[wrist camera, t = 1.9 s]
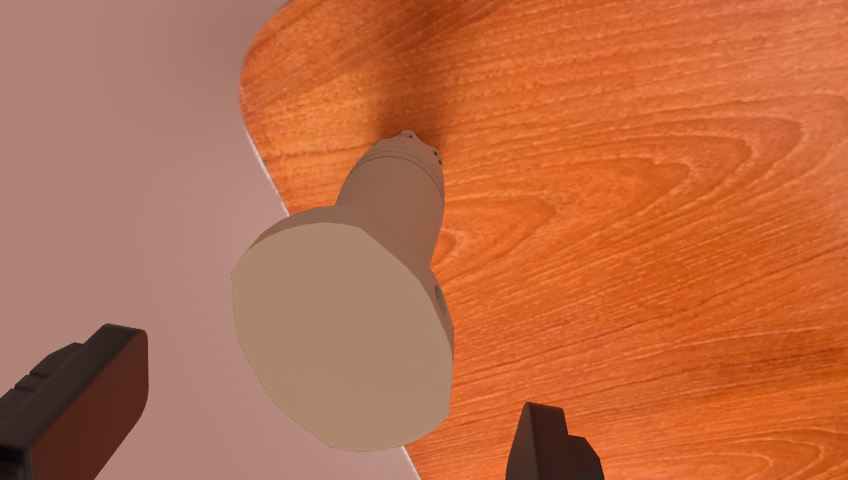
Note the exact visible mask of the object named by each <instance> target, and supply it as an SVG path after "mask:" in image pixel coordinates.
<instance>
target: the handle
mask: <svg viewBox="0 0 848 480" xmlns="http://www.w3.org/2000/svg"><path fill="white" fill-rule="evenodd" d="M441 166H442V162H441V157H440V154H439V152H438V150H437V149H436V147H434V146H429V145H427V144H425V143H424V142H422V141H421V140H420V139H419V138H418V137H417V136H416V134H415V132H414V131H412V130H403V131H402V132H401V133H400V134H399V135H397V136H395V137H392V138H387V139H385V138H382V139H380V140H379V141H377V142H376V143H375V144H374V145H373V147H372V148H371V149H369V150H368V151H367V152H366V153H365V154H364V155H363V156H362V157H361V158H360V159H359V161H358V162H357V163H356V164H355V166H354V167H353V169H352V170H351V172H350V173H349V175H348V177H347V178H346V180H345V182H344V184H343V186H342V188H341V191H340V193H339V196H338V199H337V201H336V204H335V206H326V207H317V208H314V209H310V210H306V211H303V212H299V213H296V214H294V215H292V216H290V217H288V218H285V219H283V220H281V221H279V222H278V223H276V224H275V225H273V226H272V227H270V228H269V229H267V230H266V231H264V232H263V233H262V234H261V235H260V236H259V237H258V239H257V240H256V241H255V242H254V243H253V244H252V245H251V247H250V248H249V249H248V250H247V251H246V253H245V254H244V255H243V256H242V257H241V259H240V260H239V261H238V263H237V265H236V266H235V268H234V269H233V271H232V273H231V280H232V298H233V311H234V322H235V327H236V332H237V337H238V341H239V344H240V346H241V348H242V350H243V352H244V354H245V357H246V358H247V360H248V362H249V364H250V365H251V367H252V369H253V370H254V372H255V374H256V375H257V377H258V379H259V380H260V382H261V384H262V386H263V387H264V389H265V390H266V392H267V393H268V395H269V396H270V397H271V399H272V400H273V401H274V403H275V404H276V405H277V406H278V407H279V408H280V409H281V410H282V411H283V412H285V414H287V415H288V416H289V417H290V418H291V419H293V420H294V421H295V422H297V423H298V424H299V425H300V426H302V427H303V428H304V429H306V430H307V431H309V432H310V433H311V434H313V435H314V436H315V437H317V438H318V439H320V440H321V441H322V442H324V443H325V444H327V445H328V446H329V447H331V448H336V449H340V450H345V451H354V452H372V451H382V450H386V449H392V448H396V447H400V446H403V445H406V444H409V443H412V442H414V441H416V440H418V439H420V438H422V437H424V436H426V435H428V434H430V433H431V432H432V431H433V430H434V429H436V428H437V427H438V426H439V425H440V424H441V423H442V422H443V421H444V420H445V419H446V418H447V417H448V415H449V406H450V398H451V389H452V377H453V362H454V327H453V324H452V320H451V317H450V314H449V310H448V307H447V304H446V301H445V298H444V295H443V292H442V289H441V286H440V285H439V283H438V281H437V279H436V278H435V276H434V274H433V272H432V271H431V269H430V268H429V266H430V263H431V259H432V256H433V252H434V249H435V245H436V242H437V238H438V235H439V232H440V228H441V225H442V220H443V213H444V202H445V191H444V179H443V173H442V169H441Z"/></svg>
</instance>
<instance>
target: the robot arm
mask: <svg viewBox="0 0 848 480" xmlns="http://www.w3.org/2000/svg"><path fill="white" fill-rule="evenodd" d="M148 388H149V387H148V339H147V334H146V332H145V331H144V330H141V329H136V328H130V327H125V326H120V325H113V324H105V325H103V326H102V327H101V328H100V329H99V330H98V331H96V333H94V334H93V335H92V336H91V337H90V338H89V339H88V340H87V341H86V342H85V343H84V344H80V343H75V342H74V343H72V344H70V345H68V346H66V347H64V348H62V349H60V350H57V351H55V352H53V353H51V354H49V355H48V356H47V357H45V358H44V359H43V360H42V361H41V362H40V363H39V364H38V365H37V366H35V367H34V368H33V369H32V370H31V371H30V374H29V375H26V376H25V377H23V378H22V379H21V380H20V381H19V382H18V383H17V384H16V385H15V388H14V389H10V390H9V391H8V392H7V393H6V394H5V395H3V396H2V397H1V398H0V480H94V479H95V478H96V476H97V475H98V474H99V472H100V471H101V470H102V468H103V467H104V466H105V464H106V463H107V462H108V460H109V459H110V457H111V456H112V455H113V454H114V452H115V451H116V449H117V448H118V447H119V445H120V444H121V443H122V441H123V440H124V439H125V437H126V436H127V435H128V433H129V432H130V431H131V429H132V428H133V427H134V425H135V424H136V423H137V421H138V420H139V418H140V417H141V415H142V412H143V410H144V408H145V405H146V401H147V397H148ZM604 479H605V478H604V474H603V470H602V466H601V462H600V459H599V457H598V455H597V454H596V453H595V451H594V450H593V448H592V447H591V446H590V444H589V443H588V442H587V440H586V439H585V438H583V437H578V436H573V435H568V431H567V426H566V421H565V416H564V411H563V409H562V408H559V407H553V406H548V405H542V404H537V403H531V402H526V403H525V405H524V407H523V410H522V413H521V417H520V420H519V424H518V427H517V431H516V434H515V437H514V441H513V444H512V448H511V451H510V455H509V459H508V463H507V469H506V479H505V480H604Z"/></svg>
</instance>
